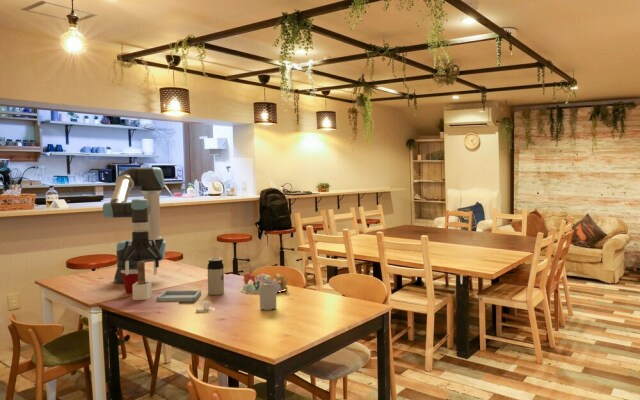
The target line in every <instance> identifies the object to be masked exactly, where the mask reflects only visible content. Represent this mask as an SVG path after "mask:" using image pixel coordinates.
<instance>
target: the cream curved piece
mask: <svg viewBox="0 0 640 400" xmlns="http://www.w3.org/2000/svg"><path fill="white" fill-rule="evenodd" d="M201 305H202V307H198V308H196V309H195V311H196V312H198V313H205V311H208V312H207V313H209V312H213V311H215V310H216V308H215V307H211V306H212V301H209V300H204V301H202V302H201ZM211 308H212V309H213V310H212V309H211ZM209 309H211V310H212V311H211V310H209Z"/></svg>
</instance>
